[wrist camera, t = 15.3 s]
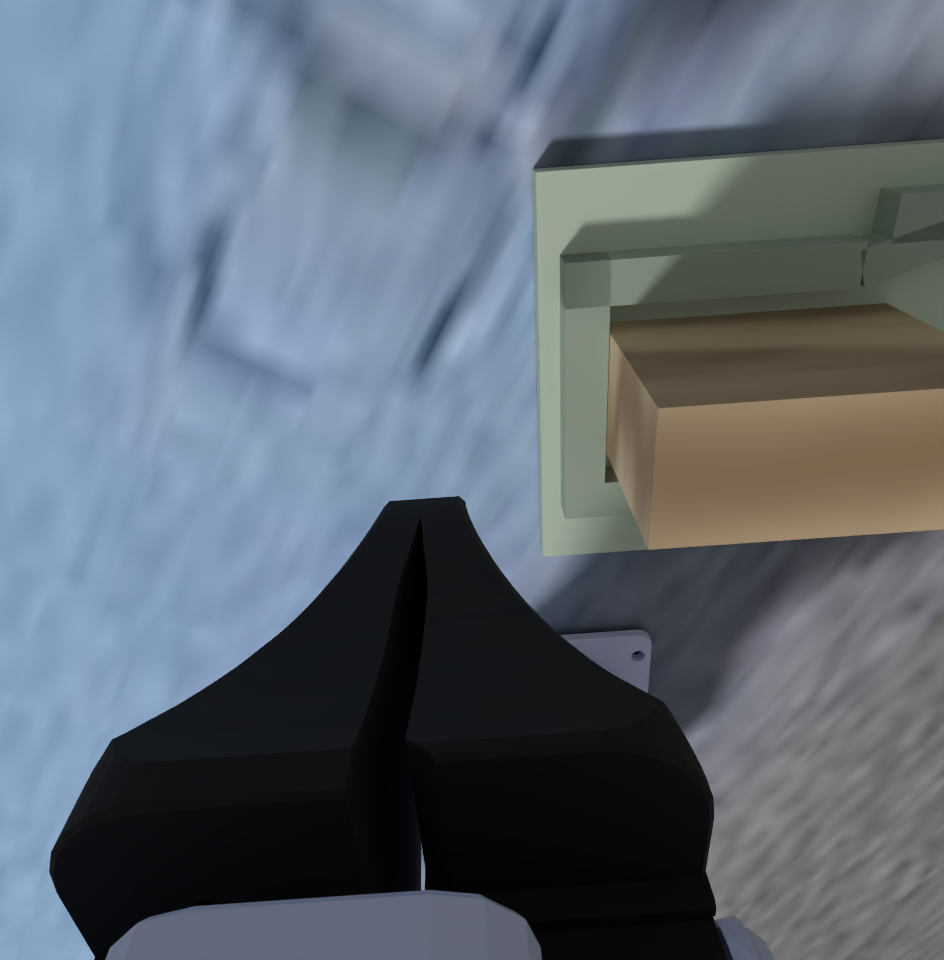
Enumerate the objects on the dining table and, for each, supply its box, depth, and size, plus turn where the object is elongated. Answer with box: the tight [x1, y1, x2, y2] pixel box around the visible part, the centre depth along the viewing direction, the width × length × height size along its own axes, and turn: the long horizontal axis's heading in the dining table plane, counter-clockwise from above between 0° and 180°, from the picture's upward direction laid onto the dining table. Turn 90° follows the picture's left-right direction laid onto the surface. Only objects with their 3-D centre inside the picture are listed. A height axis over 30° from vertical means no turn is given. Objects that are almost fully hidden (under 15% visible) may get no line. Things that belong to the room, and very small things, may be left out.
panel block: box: [606, 303, 944, 550], centre depth 18 cm, size 4×8×6 cm, turn 94°
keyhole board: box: [533, 139, 944, 557], centre depth 21 cm, size 12×19×2 cm, turn 94°
